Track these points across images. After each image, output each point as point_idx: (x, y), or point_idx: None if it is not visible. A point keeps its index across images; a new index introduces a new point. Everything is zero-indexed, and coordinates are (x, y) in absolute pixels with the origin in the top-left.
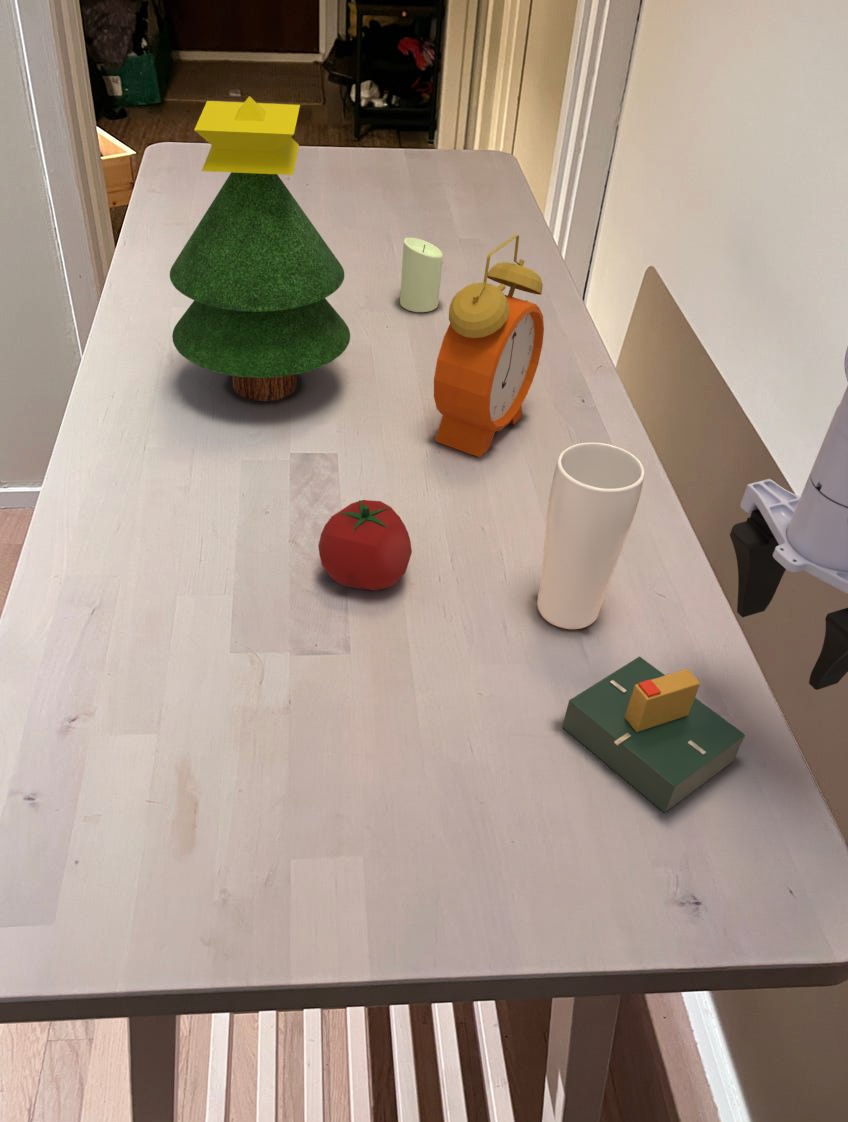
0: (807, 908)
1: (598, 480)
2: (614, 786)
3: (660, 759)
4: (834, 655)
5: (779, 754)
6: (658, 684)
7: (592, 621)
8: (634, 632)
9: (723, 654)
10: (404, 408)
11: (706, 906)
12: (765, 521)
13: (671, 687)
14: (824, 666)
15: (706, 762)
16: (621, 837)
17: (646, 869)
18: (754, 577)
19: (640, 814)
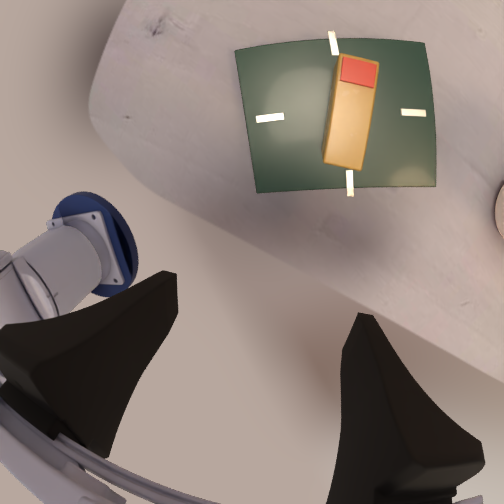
0: (112, 120)
1: None
2: (306, 37)
3: (279, 62)
4: (83, 312)
5: (248, 231)
6: (359, 95)
7: (496, 210)
8: (460, 242)
9: (380, 293)
10: None
11: (148, 38)
12: None
13: (342, 110)
14: (121, 295)
15: (244, 111)
16: (245, 5)
17: (202, 8)
18: (374, 390)
19: (259, 37)
